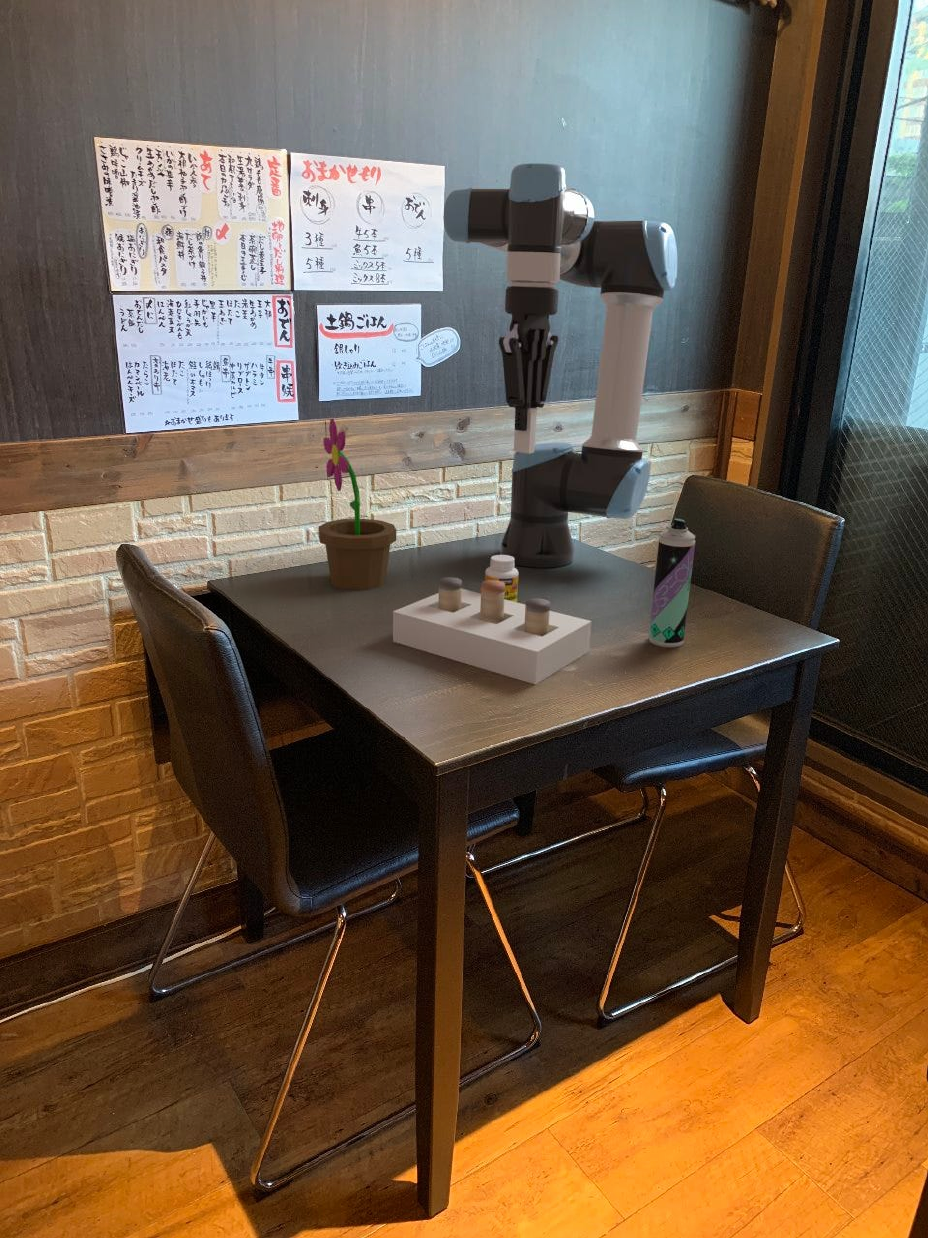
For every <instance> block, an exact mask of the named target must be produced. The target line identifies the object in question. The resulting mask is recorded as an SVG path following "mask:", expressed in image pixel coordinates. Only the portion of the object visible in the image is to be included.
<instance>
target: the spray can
mask: <svg viewBox="0 0 928 1238" xmlns="http://www.w3.org/2000/svg"><path fill="white" fill-rule="evenodd" d="M695 539H696V535H695V534H694V533H692V532H691V531H689V528H688V527H687V525H686V521H685V520H684V519H683V518H679V517H677V518H673V523H672V524H671V525H670V526H668V528H667V529H666V530H663V531H661V532H660V534H659V538H658V547H657V553H656V555H657V556H656V565H655V566H656V567H655V576H654V585H653V591H652V593H653V594H652V602H651V612H650V623H649V630H648V631H649V633H648V641H649V642H650V643H651V644H653V645H655V646H658V647H662V648H677V647H681V646H682V645H684V641H685V631H686V623H687V615H688V607H689V598H690V590H691V581H692V580H691V579H692V573H693V565H694V556H695V547H696V540H695Z"/></svg>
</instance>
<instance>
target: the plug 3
mask: <svg viewBox="0 0 928 1238" xmlns="http://www.w3.org/2000/svg"><path fill="white" fill-rule="evenodd" d="M525 605H526V606H525V624H524V632H527V633H531V634H534V635H538V636H542V637H543V636H544V635H546V634H548V629H549V613H550V611H551V601H549V600H547V599H544V598H537V597H536V598H529V599H526V600H525Z"/></svg>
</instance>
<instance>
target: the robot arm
mask: <svg viewBox="0 0 928 1238" xmlns="http://www.w3.org/2000/svg"><path fill="white" fill-rule="evenodd" d="M509 184H510V185H509V188H473V187H468V188H464V189H463V188H462V189H454V190H453V191H451V192H450V193H449V194H448V196H447V197H446V199H445V202H444V207H443V216H442V217H443V225H444V226H443V227H444V229H445V230H444V231H445V232H446V235H447V236H448V237H449V239H450V240H451V241H454V242H458V243H460V242H461V243H465V244H470V243H477V244H478V243H480V244H482V245H485V246H488V247H491V248H494V249H496V250H499V251H502V252H504V253H507V260H506V282H508V283H510V286H507V287H506V288H505V298H504V311H505V313H506V314H508V315H511V321H510V324H509V333H508V335H506V336H501V337H499V338H498V345H499V348H500V351H501V355H502V366H503V377H504V378H503V380H504V390H505V400H506V404H507V405H508V407H510V408H514V413H515V414H514V435H513V436H514V438H513V439H514V441H513V452H514V456H513V461H512V469H511V491H510V492H511V493H510V498H511V499H510V500H511V501H510V518H509V522H508V525H507V527H506V531H505V533H504V535H503V538H502V541H501V544H500V553H499V555H509V556H512V557H514V564H515V566H516V565H517V566H521V567H527V568H528V567H530V568H542V569H543V568H544V569H545V568H556V567H562V566H567V565H569V564H571V563H573V561H574V559H575V558H574V557H575V547H574V544H573V543H574V542H573V539H572V535H571V531H570V527H569V521H568V520H569V513H573V514H581V515H589V516H594V517H603V518H606V519H617V520H618V519H620V520H627V519H630V518H632V517H633V516H634V515H636V513H637V512H638V511H639V509H640V507H641V506H642V504H643V501H644V499H645V496H646V493H647V489H648V485H649V481H650V475H651V474H650V470H651V465H650V463H649V462H648V461H647V460H646V459H644V458H643V452H644V451H643V450H644V449H643V448H642V447H641V446H640V444H639V443H638V441H637V437H638V427H639V419H640V412H641V405H642V398H643V397H642V396H643V392H644V391H643V390H644V383H645V382H644V381H645V375H646V367H647V358H648V352H649V345H650V337H651V330H652V329H651V328H652V323H653V315H654V314H653V313H654V310H655V309H656V308H657V307H658V306H659V305H661V304H662V303H663V302H664V293H665V292H669V291H671V290H673V288H675V286H676V280H677V275H678V248H677V240H676V236H675V234H674V230H673V229H672V228H671V226H670V225H669V224H667V223H666V222H663V221H651V220H646V219H644V220H623V221H622V220H609V221H608V220H607V221H606V220H604V221H602V220H601V221H600V220H595V211H594V210H595V209H594V207H593V204H592V202H591V201H590V200H591V199H589V198H588V197H587V196H586V195H585V194H584V193H581V192H580V191H579V190H576V188H572V187H571V188H567V184H566V170H565V169H564V168H563V167H562V165H558V164H552V163H521V164H517V165H516V166H515V167H514V168H513V169H512V171H511V174H510V183H509ZM560 281H562V282H566V283H569V284H573V285H576V286H581V287H584V288H594V289H595V288H596V289H598V288H600V293H599V297H600V299H601V300H602V302H603V303H604V304H605V306H606V312H605V321H604V327H603V329H604V330H603V337H602V345H601V354H600V363H599V370H598V378H597V387H596V396H595V402H594V403H595V404H594V411H593V418H592V419H593V421H592V426H591V427H592V428H591V435H590V437H589V438H588V439H587V440H586V441H584V442H583V443H582V446H581V453H578V452H574V450H575V449H574V447H573V444H571V443H567V442H566V443H565V442H548V443H547V442H546V443H538V444H537V443H536V429H537V427H536V426H537V411H538V410H537V408H538V409H539V408H540V409H541V408H542V409H543V408H544V406H545V402H546V400H547V396H548V395H547V394H548V390H549V385H550V383H549V382H550V379H551V373H552V367H553V361H554V356H555V351H556V349H557V346H558V343H559V336H558V335H552V333H551V325H550V316H555V315H556V314H557V313H558V310H559V309H558V308H559V307H558V305H559V293H560V291H559V290H558V288H557V287H556V284H559V283H560Z"/></svg>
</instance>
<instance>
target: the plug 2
mask: <svg viewBox="0 0 928 1238" xmlns="http://www.w3.org/2000/svg"><path fill="white" fill-rule="evenodd" d="M480 585H481V586H480V593H481V606H480V620H482V621H486V622H490V623H493V624H498V623H500V622H502V621H503V617H504V595H505V583H504V582H501V581H497V580H487V581H485V580H484V581H482V582H481V583H480Z"/></svg>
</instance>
